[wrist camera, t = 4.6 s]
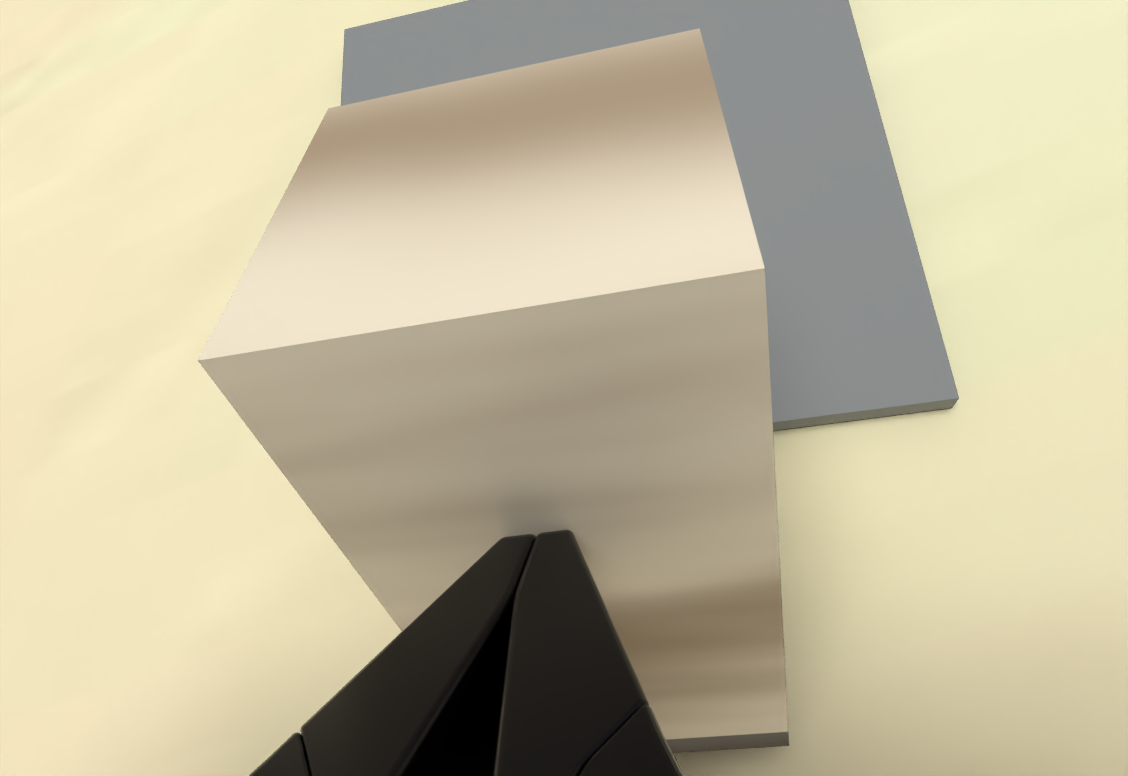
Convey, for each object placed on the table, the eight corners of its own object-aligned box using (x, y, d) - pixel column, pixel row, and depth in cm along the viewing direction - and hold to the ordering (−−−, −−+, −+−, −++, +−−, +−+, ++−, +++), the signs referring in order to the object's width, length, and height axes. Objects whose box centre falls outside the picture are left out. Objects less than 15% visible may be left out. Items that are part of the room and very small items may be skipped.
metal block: (788, 745, 13) (765, 269, 6) (501, 763, 14) (197, 360, 7) (745, 503, 17) (699, 27, 10) (518, 529, 17) (328, 108, 11)
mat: (951, 407, 16) (959, 397, 16) (334, 487, 19) (322, 481, 18) (823, -64, 22) (824, -83, 21) (353, 44, 24) (344, 29, 23)
